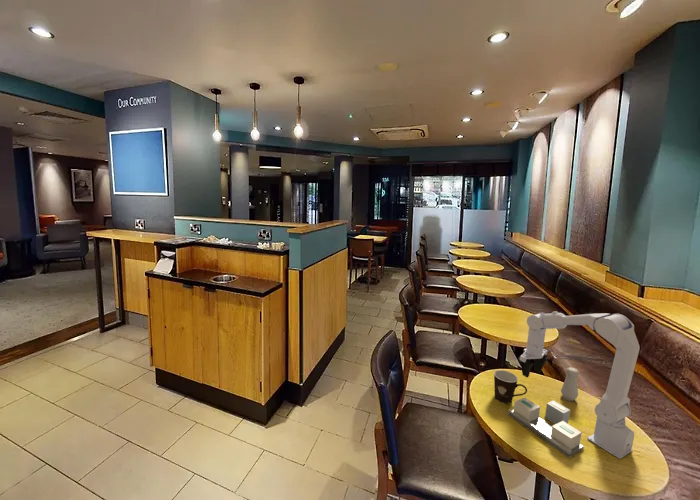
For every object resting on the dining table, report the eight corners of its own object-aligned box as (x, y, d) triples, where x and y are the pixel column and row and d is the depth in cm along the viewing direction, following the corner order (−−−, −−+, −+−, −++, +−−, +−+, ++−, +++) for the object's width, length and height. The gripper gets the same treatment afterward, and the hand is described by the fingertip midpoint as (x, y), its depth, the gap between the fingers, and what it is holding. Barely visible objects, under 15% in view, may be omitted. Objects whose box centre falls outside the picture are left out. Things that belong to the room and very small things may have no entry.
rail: (583, 449, 104) (584, 443, 104) (569, 457, 100) (570, 451, 100) (521, 408, 123) (522, 403, 123) (507, 414, 120) (508, 409, 119)
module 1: (538, 417, 117) (540, 406, 116) (528, 422, 114) (529, 411, 113) (523, 407, 122) (524, 397, 121) (513, 412, 119) (514, 401, 119)
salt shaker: (571, 394, 133) (576, 365, 131) (580, 403, 127) (585, 373, 125) (557, 393, 134) (561, 364, 131) (564, 401, 128) (569, 372, 126)
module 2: (579, 444, 104) (581, 432, 104) (569, 450, 102) (571, 438, 101) (560, 432, 110) (562, 420, 109) (550, 437, 107) (552, 425, 106)
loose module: (567, 424, 115) (570, 409, 114) (561, 428, 114) (563, 412, 112) (551, 414, 121) (553, 399, 119) (544, 417, 119) (546, 402, 118)
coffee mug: (487, 394, 132) (489, 372, 130) (502, 389, 135) (504, 368, 133) (510, 412, 121) (513, 388, 119) (526, 406, 125) (529, 383, 123)
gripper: (537, 335, 134) (533, 365, 136) (514, 342, 127) (510, 372, 130) (554, 342, 128) (549, 373, 130) (531, 349, 121) (526, 382, 124)
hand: (531, 373), depth 129 cm, fingers open, 7 cm apart
